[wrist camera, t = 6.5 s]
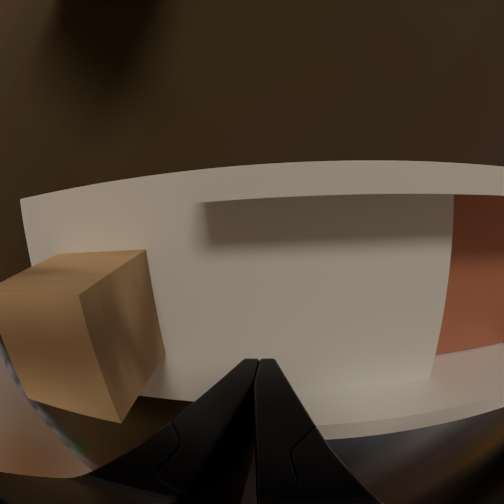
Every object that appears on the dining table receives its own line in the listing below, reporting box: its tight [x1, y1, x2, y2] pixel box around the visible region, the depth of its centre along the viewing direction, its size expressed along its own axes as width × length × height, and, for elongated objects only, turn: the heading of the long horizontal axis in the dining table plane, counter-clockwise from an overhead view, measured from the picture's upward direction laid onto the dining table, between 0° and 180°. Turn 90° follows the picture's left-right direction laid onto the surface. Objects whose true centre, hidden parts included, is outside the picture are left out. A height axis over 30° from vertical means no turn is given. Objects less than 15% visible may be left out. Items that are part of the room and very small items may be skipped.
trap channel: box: [20, 161, 504, 440], centre depth 13 cm, size 11×26×4 cm, turn 94°
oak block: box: [0, 249, 165, 423], centre depth 12 cm, size 5×5×5 cm
